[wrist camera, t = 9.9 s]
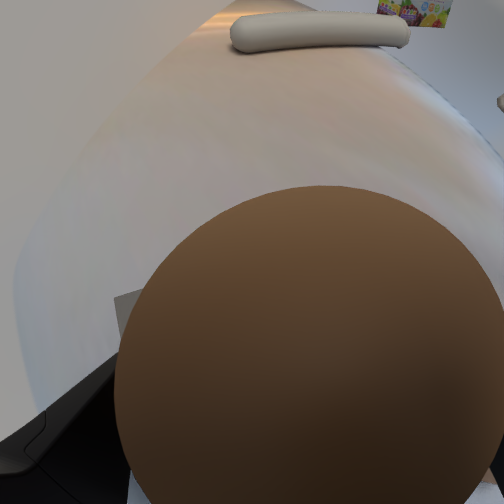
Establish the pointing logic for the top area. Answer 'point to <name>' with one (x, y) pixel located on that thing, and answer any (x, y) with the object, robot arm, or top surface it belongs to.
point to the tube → (317, 30)
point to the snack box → (417, 11)
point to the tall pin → (313, 358)
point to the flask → (501, 102)
